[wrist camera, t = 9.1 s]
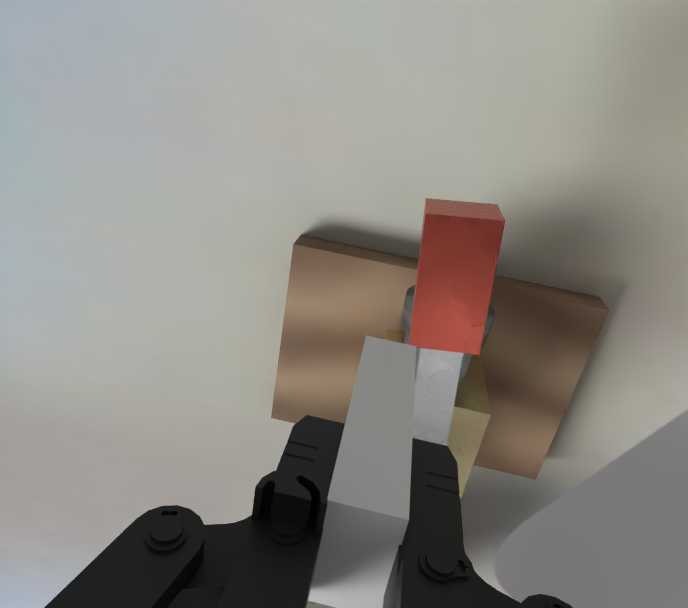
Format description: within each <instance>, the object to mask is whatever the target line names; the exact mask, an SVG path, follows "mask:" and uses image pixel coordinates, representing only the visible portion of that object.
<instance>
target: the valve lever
mask: <svg viewBox="0 0 688 608" xmlns="http://www.w3.org/2000/svg"><path fill="white" fill-rule="evenodd" d="M504 224H505V220H504V218H503V216H502V214H501V212H500V210H499V207H498V205H495V204H484V203H473V202H462V201H450V200H439V199H428V198H426V202H425V210H424V218H423V226H422V234H421V243H420V251H419V259H418V267H417V275H416V283H415V292H414V300H413V308H412V316H411V327H410V340H409V345H412V346H416V347H417V348H419V353H418V360H417V368H416V375H415V390H414V413H413V437H412V438H415V439H420V440H424V441H428V442H433V443H437V444H441V445H446V446H447V442H448V437H449V431H450V425H451V420H452V414H453V408H454V402H455V397H456V391H457V385H458V380H459V374H460V368H461V362H462V357H463V353H466V354H474V355H480V349H481V344H482V339H483V334H484V328H485V323H486V318H487V313H488V307H489V302H490V297H491V292H492V286H493V281H494V276H495V271H496V265H497V260H498V255H499V250H500V245H501V239H502V234H503V229H504Z"/></svg>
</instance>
